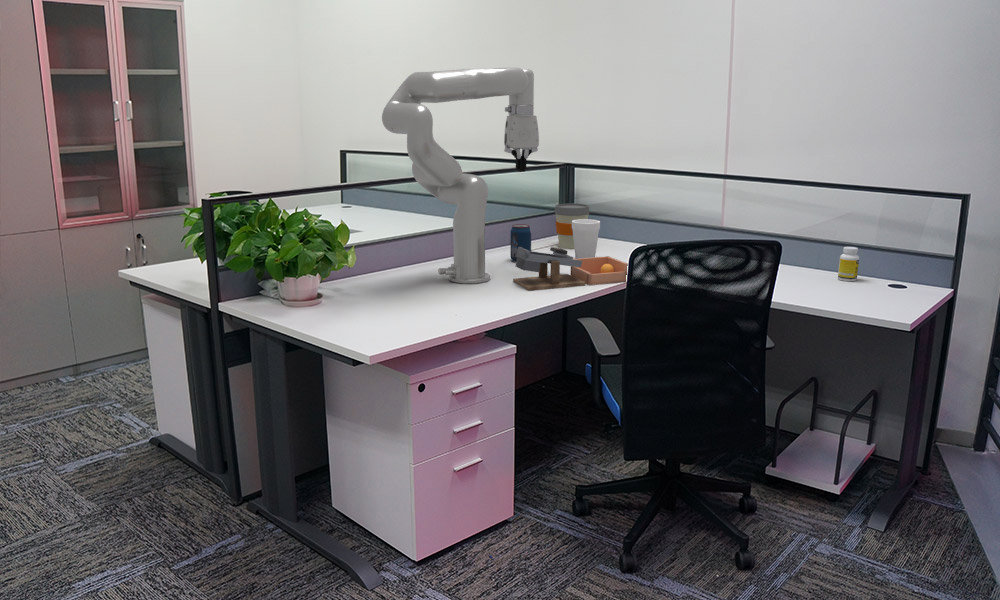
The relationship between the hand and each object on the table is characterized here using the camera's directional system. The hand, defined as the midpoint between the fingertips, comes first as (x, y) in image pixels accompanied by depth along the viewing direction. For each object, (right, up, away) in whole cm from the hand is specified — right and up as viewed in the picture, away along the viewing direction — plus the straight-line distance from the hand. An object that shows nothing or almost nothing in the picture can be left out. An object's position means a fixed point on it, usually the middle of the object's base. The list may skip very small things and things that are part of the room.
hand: (521, 171), depth 257 cm
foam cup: (+22, -27, +22) cm, 41 cm away
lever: (+6, -31, -9) cm, 33 cm away
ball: (+26, -31, -6) cm, 41 cm away
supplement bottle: (+98, -34, -8) cm, 104 cm away
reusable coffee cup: (+20, -21, +45) cm, 53 cm away
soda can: (0, -27, +20) cm, 34 cm away
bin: (+23, -34, -6) cm, 42 cm away
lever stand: (+8, -35, -12) cm, 38 cm away
